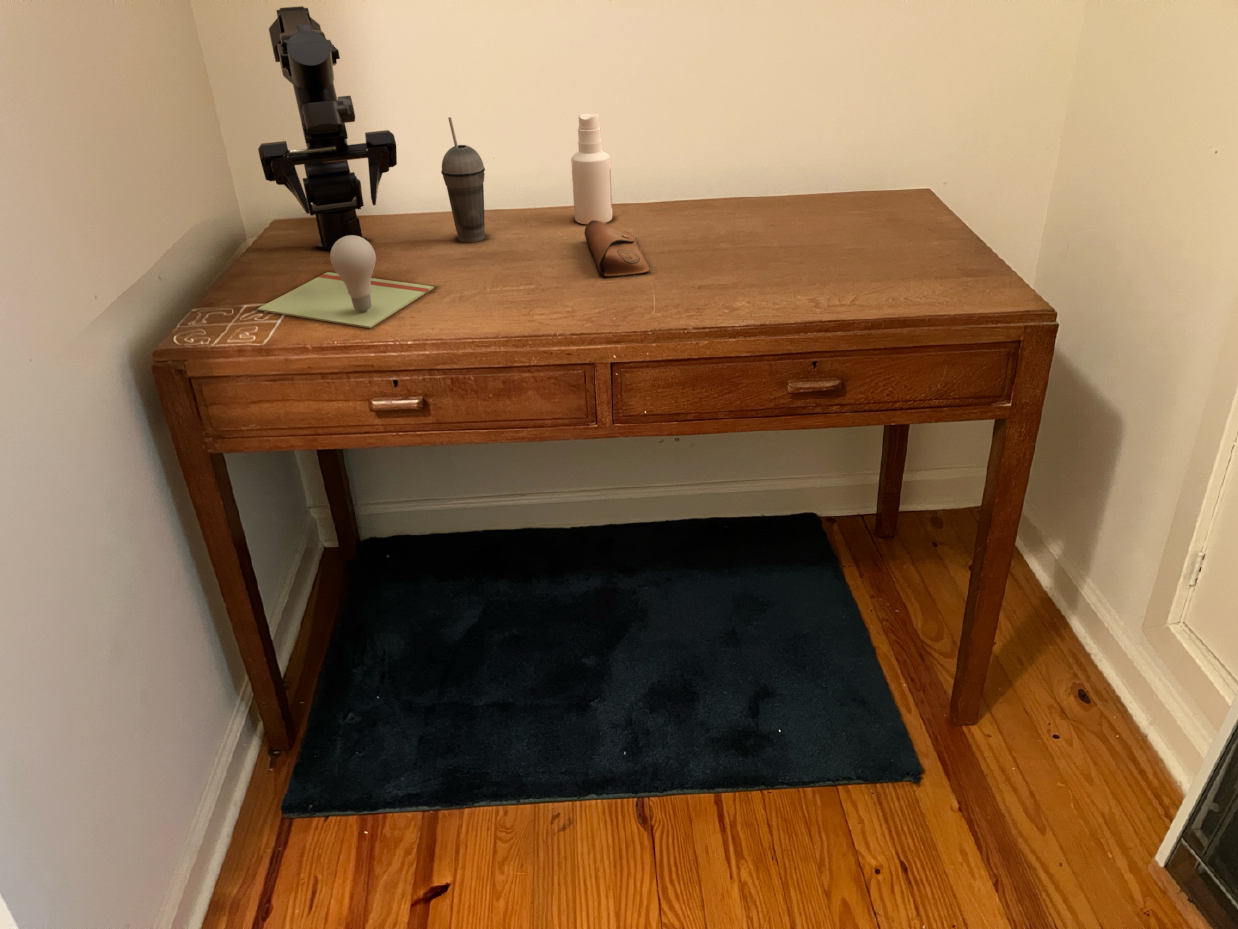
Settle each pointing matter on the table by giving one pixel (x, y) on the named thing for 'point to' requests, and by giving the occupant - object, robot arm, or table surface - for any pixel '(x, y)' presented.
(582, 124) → the spray bottle
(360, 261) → the lightbulb
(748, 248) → the table surface
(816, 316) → the table surface
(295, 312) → the cloth
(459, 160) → the beverage cup
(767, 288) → the table surface
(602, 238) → the sunglasses case
